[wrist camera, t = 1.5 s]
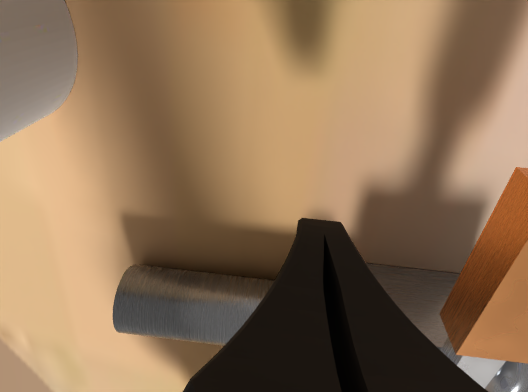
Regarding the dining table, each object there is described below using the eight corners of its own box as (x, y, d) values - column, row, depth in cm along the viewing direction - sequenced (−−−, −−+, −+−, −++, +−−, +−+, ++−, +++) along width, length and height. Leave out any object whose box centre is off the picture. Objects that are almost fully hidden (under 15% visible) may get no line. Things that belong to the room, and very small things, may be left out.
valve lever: (442, 407, 16) (458, 456, 15) (383, 399, 17) (392, 447, 15) (606, 169, 9) (672, 212, 8) (500, 159, 10) (543, 199, 8)
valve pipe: (639, 364, 21) (716, 454, 17) (147, 305, 22) (114, 375, 18) (711, 301, 18) (826, 394, 14) (135, 237, 19) (92, 304, 15)
